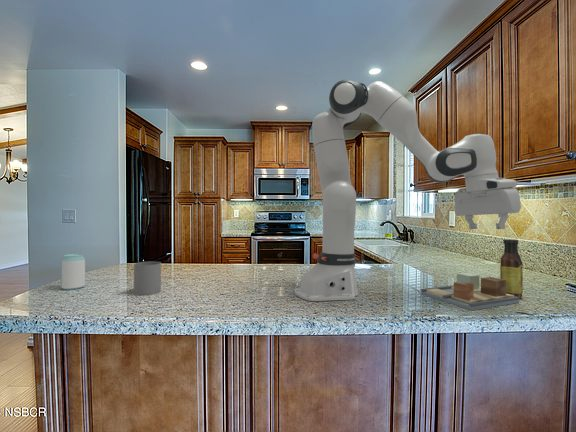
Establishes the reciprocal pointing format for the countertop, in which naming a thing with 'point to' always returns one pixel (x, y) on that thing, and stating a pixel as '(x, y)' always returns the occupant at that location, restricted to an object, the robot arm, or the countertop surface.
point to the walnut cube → (493, 286)
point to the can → (72, 271)
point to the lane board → (448, 291)
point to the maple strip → (472, 294)
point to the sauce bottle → (512, 268)
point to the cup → (147, 278)
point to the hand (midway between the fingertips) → (486, 229)
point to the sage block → (468, 279)
